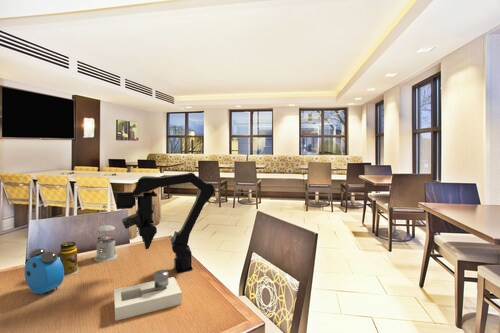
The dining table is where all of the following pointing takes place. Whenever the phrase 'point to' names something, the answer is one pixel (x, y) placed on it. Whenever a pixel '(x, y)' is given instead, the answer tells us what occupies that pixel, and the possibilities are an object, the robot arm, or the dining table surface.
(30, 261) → the alarm clock
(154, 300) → the keyhole board
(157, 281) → the keyhole peg
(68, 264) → the condiment
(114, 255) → the french press
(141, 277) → the dining table surface
